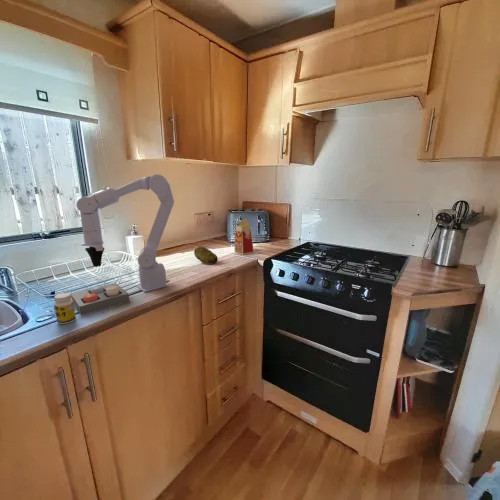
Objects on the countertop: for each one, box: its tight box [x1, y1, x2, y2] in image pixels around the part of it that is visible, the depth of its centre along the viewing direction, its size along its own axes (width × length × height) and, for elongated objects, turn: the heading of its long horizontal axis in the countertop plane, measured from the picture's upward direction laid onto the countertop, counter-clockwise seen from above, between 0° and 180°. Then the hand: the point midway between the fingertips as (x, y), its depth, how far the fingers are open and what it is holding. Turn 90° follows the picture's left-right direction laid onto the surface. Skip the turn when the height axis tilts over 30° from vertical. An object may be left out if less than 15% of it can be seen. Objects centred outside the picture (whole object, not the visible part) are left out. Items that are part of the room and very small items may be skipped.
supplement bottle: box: [53, 292, 77, 325], centre depth 82 cm, size 5×5×8 cm
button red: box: [83, 294, 98, 303], centre depth 92 cm, size 4×4×3 cm
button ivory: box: [106, 286, 119, 297], centre depth 96 cm, size 4×4×3 cm
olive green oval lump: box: [193, 246, 219, 265], centre depth 141 cm, size 8×13×8 cm, turn 43°
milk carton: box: [234, 218, 254, 255], centre depth 159 cm, size 9×9×20 cm
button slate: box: [89, 285, 104, 294], centre depth 98 cm, size 4×4×3 cm
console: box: [69, 282, 130, 316], centre depth 96 cm, size 15×14×3 cm
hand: (97, 266), depth 102 cm, fingers closed
